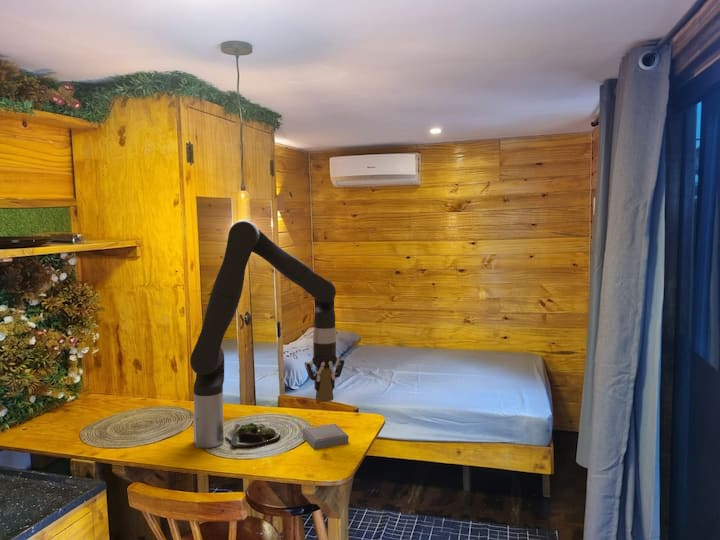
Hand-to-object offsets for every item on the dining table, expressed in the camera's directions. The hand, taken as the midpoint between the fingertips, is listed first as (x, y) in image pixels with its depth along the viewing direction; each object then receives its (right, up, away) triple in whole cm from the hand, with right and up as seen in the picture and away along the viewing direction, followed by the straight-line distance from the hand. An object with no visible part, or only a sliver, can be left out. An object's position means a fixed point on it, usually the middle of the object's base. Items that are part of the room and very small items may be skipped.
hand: (324, 390), depth 182 cm
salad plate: (-25, -17, +3) cm, 30 cm away
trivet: (0, -17, +2) cm, 17 cm away
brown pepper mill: (0, -3, 0) cm, 3 cm away
